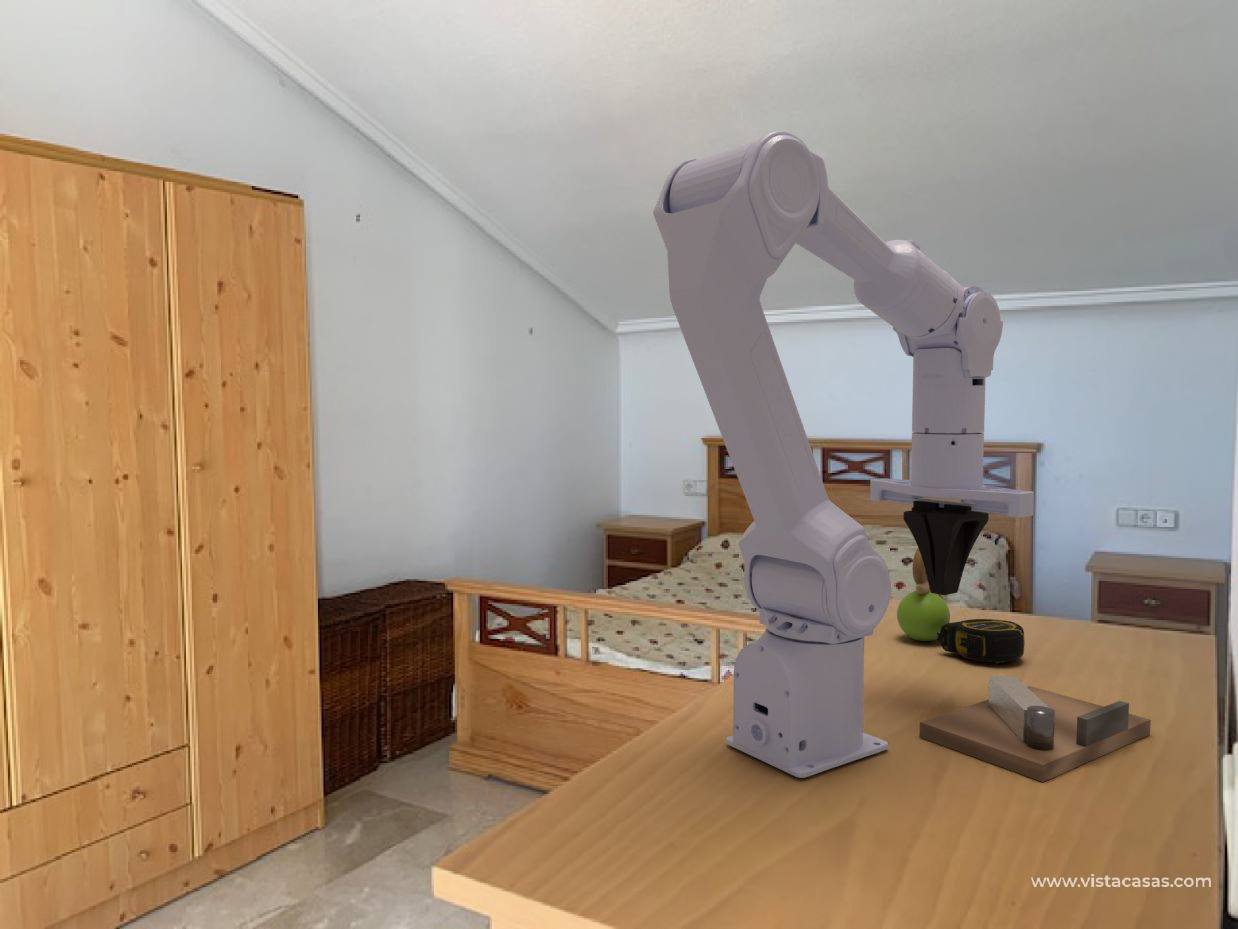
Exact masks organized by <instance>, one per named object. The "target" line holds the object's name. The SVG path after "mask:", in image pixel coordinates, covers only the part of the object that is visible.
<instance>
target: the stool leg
mask: <svg viewBox="0 0 1238 929" xmlns="http://www.w3.org/2000/svg"><path fill="white" fill-rule="evenodd" d="M988 677H989V678H988V679H989V680H988V699H989V706H990V707H991V708H992V709H993V710H994V711H995V712H996V713H997V714H998V716H999V717H1000V718H1001V719H1002V720H1003V721H1004V722H1005V723H1006V724H1007V725H1008V726H1009V727H1010V729H1011V730H1012V731H1013V732H1014V733H1015V734H1016V735H1017V736H1018V737H1019V738H1020V739H1021V740H1022V742H1026V744H1027V745H1028V746H1029V747H1031V748H1034V749H1038V750H1051V749H1053V748H1054V728H1055V711H1054V710H1053V709H1051V708H1049V707H1048V706H1047V705H1046V704H1045V703H1044V702H1043V701H1042V700H1040V699H1039V698H1038V697H1037V696H1036V695H1035V694H1034V693H1033V692H1032V691H1030V690H1029V689H1028V688H1027V687H1028V686H1026V685H1025V684H1024V683H1023V682H1021V680H1019V679H1018V678H1017V677H1016V676H1007V675H1004V676H1003V675H989V676H988Z"/></svg>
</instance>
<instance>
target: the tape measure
mask: <svg viewBox="0 0 1238 929" xmlns="http://www.w3.org/2000/svg"><path fill="white" fill-rule="evenodd" d="M937 635H938V637H937V639H936V640H937V642H938V643H940V645H941V648H942V649H943V651H944V652H945V651H946V652H948V653H953V654H958V655H960V656H961V657H963V658H966V659H969V660H973V661H974V660H975V661H979V662H987V663H988V662H989V663H990V662H991V663H993V662H995V663H994V664H1000V663H999V662H1001V663H1006V662H1012V661H1013V662H1014V661H1015V660H1018V659H1022V657H1023V656H1024V653H1025V645H1026V644H1025V641H1026V640H1025V631H1024V629H1023V627H1022V626H1021V624H1018V623H1016V622H1014V621H1011V620H1010V621H1009V620H1004V619H1003V620H1002V619H993V618H992V619H991V618H973V619H964V620H961V621H955V622H950V623H947V624H945V625H943V626H942V627H941V630H940V633H939V632H937Z"/></svg>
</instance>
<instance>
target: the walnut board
mask: <svg viewBox="0 0 1238 929" xmlns="http://www.w3.org/2000/svg"><path fill="white" fill-rule="evenodd" d="M1026 687H1027V688H1028V689H1029V690H1030V691H1032V692H1033V693H1034V694H1035V695H1036V696H1037V697H1038V698H1039V699H1040V700H1042V701H1043V702H1044V703H1045V704H1046V705H1047V706H1048V707H1049V708H1051V709H1053V710H1054V711H1055V728H1054V748H1053V749H1051V750H1038V749H1034V748H1031V747H1029V746H1028V745H1027V744H1026V742H1022V740H1021V739H1020V738H1019V737H1018V736H1017V735H1016V734H1015V733H1014V732H1013V731H1012V730H1011V729H1010V727H1009V726H1008V725H1007V724H1006V723H1005V722H1004V721H1003V720H1002V719H1001V718H1000V717H999V716H998V714H997V713H996V712H995V711H994V710H993V709H992V708H991V707H990V706H989V698H988V699H985V700H983V701H979V702H977V703H973V704H971V705H967V706H963V707H961V708H959V709H955V710H952V711H949V712H946V713H943V714H939V715H937V716H934V717H931V718H928V719H925V720H921V721H919V738H921V739H924V740H926V741H929V742H932V743H934V744H937V745H940V746H943V747H946V748H949V749H951V750H954V751H956V752H960V753H962V754H964V755H968V756H970V757H973V758H976V759H978V760H982V761H983V762H987V763H989V764H992V765H994V766H998V767H1000V768H1002V769H1005V770H1009V771H1011V772H1014V773H1017V774H1020V775H1023V776H1025V777H1028V778H1030V779H1033V780H1036V781H1038V782H1041V783H1044V782H1047V781H1049V780H1051V779H1053V778H1055V777H1057V776H1061V775H1062V774H1065V773H1067V772H1069V771H1071V770H1074V769H1076V768H1078V767H1081V766H1083V765H1085V764H1087V763H1089V762H1092V761H1093V760H1094V761H1095V760H1097V759H1098V758H1100V757H1103V756H1105V755H1108V754H1109V753H1113V752H1114V751H1116V750H1118V749H1121V748H1123V747H1125V746H1128V745H1130V744H1132V743H1134V742H1136V741H1139V740H1142V739H1143V738H1146V737H1148V736H1151V722H1152V720H1151V719H1150V718H1148V717H1147V718H1146V717H1142V716H1139V715H1135V714H1132V713H1129V711H1130V703H1129V702H1125V701H1122V700H1118V701H1116V702H1113V703H1110V704H1107V705H1104V706H1103V705H1099V704H1095V703H1092V702H1090V701H1089V702H1088V701H1085V700H1081V699H1078V698H1074V697H1070V696H1067V695H1063V694H1061V693H1057V692H1052V691H1050V690H1045V689H1042V688H1039V687H1035V686H1031V685H1028V686H1026Z"/></svg>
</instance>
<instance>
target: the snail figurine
mask: <svg viewBox="0 0 1238 929" xmlns="http://www.w3.org/2000/svg"><path fill="white" fill-rule="evenodd" d="M911 567H912V577H913V581H914V583H915V584H916V585H915V591H911V592H909V593H908V594H906V595H905V596H904V597H903V598H902V599H901V601H900V602H899V604H898V606H897V609H896V618H897V622H898V625H899V627H900V629H901V631H903V633H904V634H906V636H908V637H910V639H913V640H916V641H920V642H930V641H934V640H937V637H938V635H937V632H939V633H940V630H941V627H942V626H943V625H945V624H947V623H951V622H950V621H951V613H950V609H949V606H948V604H947V603H946V601H945V600H944V599H943V598H942V597H941V596H940V595H939V594H934V593H931V592H930V588H929V583H928V579H927V575H926V571H925V567H924V563H923V560H922V557H921V554H920V551H919V548H918V547H917V549H916V550H915V553H914V556H913V560H912V566H911Z"/></svg>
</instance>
